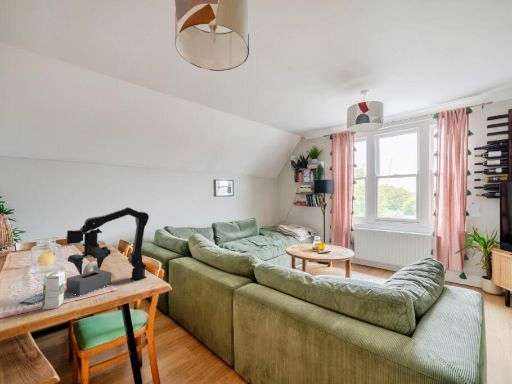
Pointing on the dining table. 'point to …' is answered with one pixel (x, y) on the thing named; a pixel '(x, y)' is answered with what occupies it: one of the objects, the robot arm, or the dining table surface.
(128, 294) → the dining table surface
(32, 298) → the smartphone
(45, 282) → the syrup box
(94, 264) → the donut
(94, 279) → the cash box
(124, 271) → the dining table surface
